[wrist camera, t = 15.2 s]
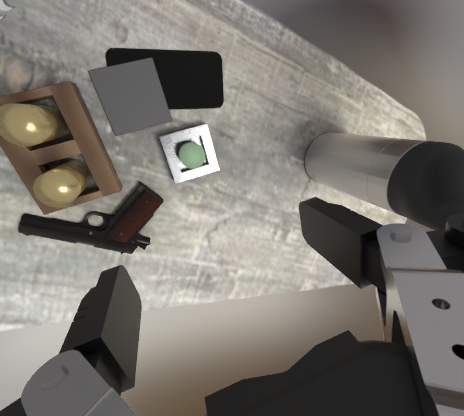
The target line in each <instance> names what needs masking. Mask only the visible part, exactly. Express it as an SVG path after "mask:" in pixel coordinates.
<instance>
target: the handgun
mask: <svg viewBox="0 0 464 416" xmlns="http://www.w3.org/2000/svg"><path fill="white" fill-rule="evenodd" d="M139 184H140V186H139V187H138V188H137V189H136V190H135V192H134V193H133V194H132V195H131V196H130V197H129V199H128V200H127V201H126V202H125V203H124V204H123V205H122V207H121V208H120V209H119V210H118V211H117V212H116V214H115V215H108V214H104V213H99V212H91V213H89V214H88V215H87V216H86V218H85V220H84V222H83V223H72V222H67V221H62V220H58V219H48V218H43V217H39V216H34V215H29V214H24V215H23V216H22V218H21V222H20V225H19V228H18V232H19V233H23V234H25V235H35V236H40V237H45V238H50V239H56V240H61V241H66V242H71V243H82V244H87V245H93V246H94V247H97V248H103V249H108V250H113V251H118V252H121V254H122V253H129V254H132V253H133V252H134V250H135V249H136V248H137V246H139V247H141V248H142V249H144V250H145V248H146V246H147V245H149V244H150V238H147V237H143V236H141V235H140V233H139V231H140V230H141V229H142V228H143V227H144V226H145V225H146V223H147V222H148V221H149V220H150V219H151V218H152V217H153V213H154V212H155V211H156V210H157V209H158V208H159V206H160V205H161V204H162V203H163V199H162V198H161V197H160V196H159V195H158V194H156V193H155V192H154V191H152V190H151V189H150V188H148V187H147V186H146V185H144V184H143V183H142V182H139ZM91 215H98V216H102V217H103V219H104V221H105V223H104V225H103V226H102V227H96V226H92V225H90V224H89V223H88V217H89V216H91Z"/></svg>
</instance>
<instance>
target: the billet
mask: <svg viewBox="0 0 464 416" xmlns="http://www.w3.org/2000/svg"><path fill="white" fill-rule="evenodd" d="M67 130H68V125H67V123H66V121H65V119H64V117H63V115H62V113H61V112H60V111H59V110H58V109H56V108H54V107H51V106H42V105H29V104H16V103H10V104H5V105H3V106H1V107H0V135H1V136H2V137H3V138H4V139H5V140H7V141H8V142H10V143H12V144H15V145H18V146H32V145H36V144H40V143H43V142H47V141H51V140H54V139H58V138H61V137H63V136H64V135H65V134H66V132H67Z"/></svg>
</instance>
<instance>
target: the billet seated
mask: <svg viewBox="0 0 464 416" xmlns="http://www.w3.org/2000/svg"><path fill="white" fill-rule="evenodd" d="M91 180H92V174H91V172H90V170H89V168H88V166H87V165H86V164H84V163H83V162H80V161H77V160H70V161H67V162H65V163H63V164H61V165H59V166H57V167H55V168H53V169H52V170H50V171H48V172H46V173H44V174H42V175H40V176H39V177H38V178H37V179H36V180H35V182H34V184H33V191H34V194H35V196H36V197H37V199H38V200H39V201H41V202H42V203H43V204H45V205H47V206H50V207H65V206H67V205H69V204H71V203H72V202H73V201H74V200H75V199H76V198H77V196H78V195H79V194H80V193H81V192H82V191H83V190H84V189H85V188H86V187H87V186H88V185H89V184H90V182H91Z"/></svg>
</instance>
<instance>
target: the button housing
mask: <svg viewBox="0 0 464 416" xmlns="http://www.w3.org/2000/svg"><path fill="white" fill-rule="evenodd" d="M159 138H160V140H161V143H162V146H163V149H164V152H165V155H166V158H167V160H168V163H169V166H170V169H171V172H172V175H173V177H174V180H175V183H176V184H177V183H180V182H183V181H186V180H190V179H193V178H196V177H199V176H202V175H205V174H208V173H212V172H215V171H218V170H219V167H218V163H217V159H216V155H215V151H214V148H213V144H212V140H211V136H210V132H209V129H208V125H207V124H201V125H197V126H194V127H190V128H186V129H183V130H179V131H175V132H172V133H168V134H165V135H161V136H159ZM186 142H195V143H197V144H198V145H200V146H201V147H202V148H203V149H204V152H205V160H204V163H203V164H202V165H201V166H200V167H198V168H195V169H190V168H187V167H185V166H184V165H183V164H182V162H181V161H180V159H179V155H178V152H179V148H180V147H181V145H182V144H184V143H186Z"/></svg>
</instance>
